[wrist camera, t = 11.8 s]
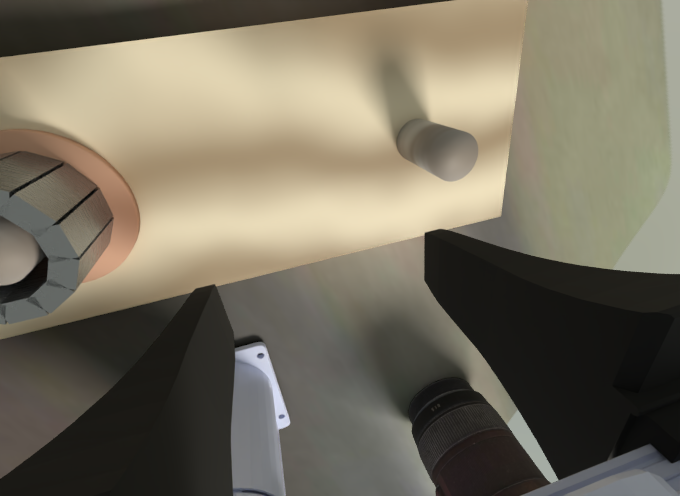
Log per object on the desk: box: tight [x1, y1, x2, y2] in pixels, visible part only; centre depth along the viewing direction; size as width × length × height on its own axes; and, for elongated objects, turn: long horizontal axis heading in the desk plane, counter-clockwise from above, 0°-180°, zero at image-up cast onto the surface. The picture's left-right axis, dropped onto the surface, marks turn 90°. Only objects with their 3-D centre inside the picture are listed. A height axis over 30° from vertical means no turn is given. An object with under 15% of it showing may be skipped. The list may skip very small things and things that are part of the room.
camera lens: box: [409, 378, 551, 496], centre depth 27 cm, size 8×8×15 cm
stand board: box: [0, 0, 528, 339], centre depth 16 cm, size 12×30×6 cm, turn 97°
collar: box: [0, 151, 114, 325], centre depth 13 cm, size 5×5×4 cm
